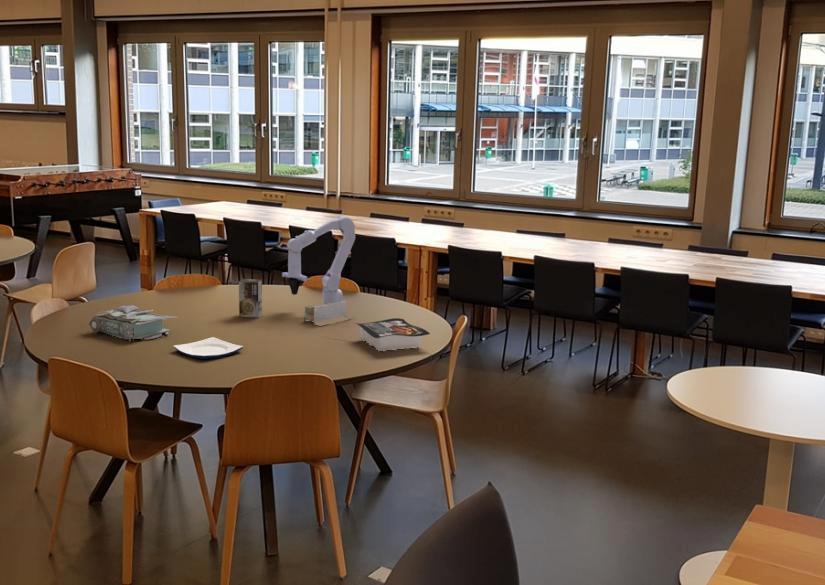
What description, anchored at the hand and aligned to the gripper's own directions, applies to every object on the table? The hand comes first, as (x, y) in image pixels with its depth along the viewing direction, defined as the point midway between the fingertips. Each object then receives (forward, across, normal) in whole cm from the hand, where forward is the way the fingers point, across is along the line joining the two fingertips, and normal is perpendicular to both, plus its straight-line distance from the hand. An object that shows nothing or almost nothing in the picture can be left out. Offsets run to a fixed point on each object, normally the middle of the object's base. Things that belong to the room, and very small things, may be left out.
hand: (294, 294), depth 386 cm
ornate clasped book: (+8, -15, -75) cm, 77 cm away
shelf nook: (+8, +22, -3) cm, 23 cm away
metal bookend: (+8, +27, -3) cm, 29 cm away
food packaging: (+8, +68, -13) cm, 70 cm away
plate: (+8, +28, -71) cm, 76 cm away
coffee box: (+8, -6, -21) cm, 23 cm away
